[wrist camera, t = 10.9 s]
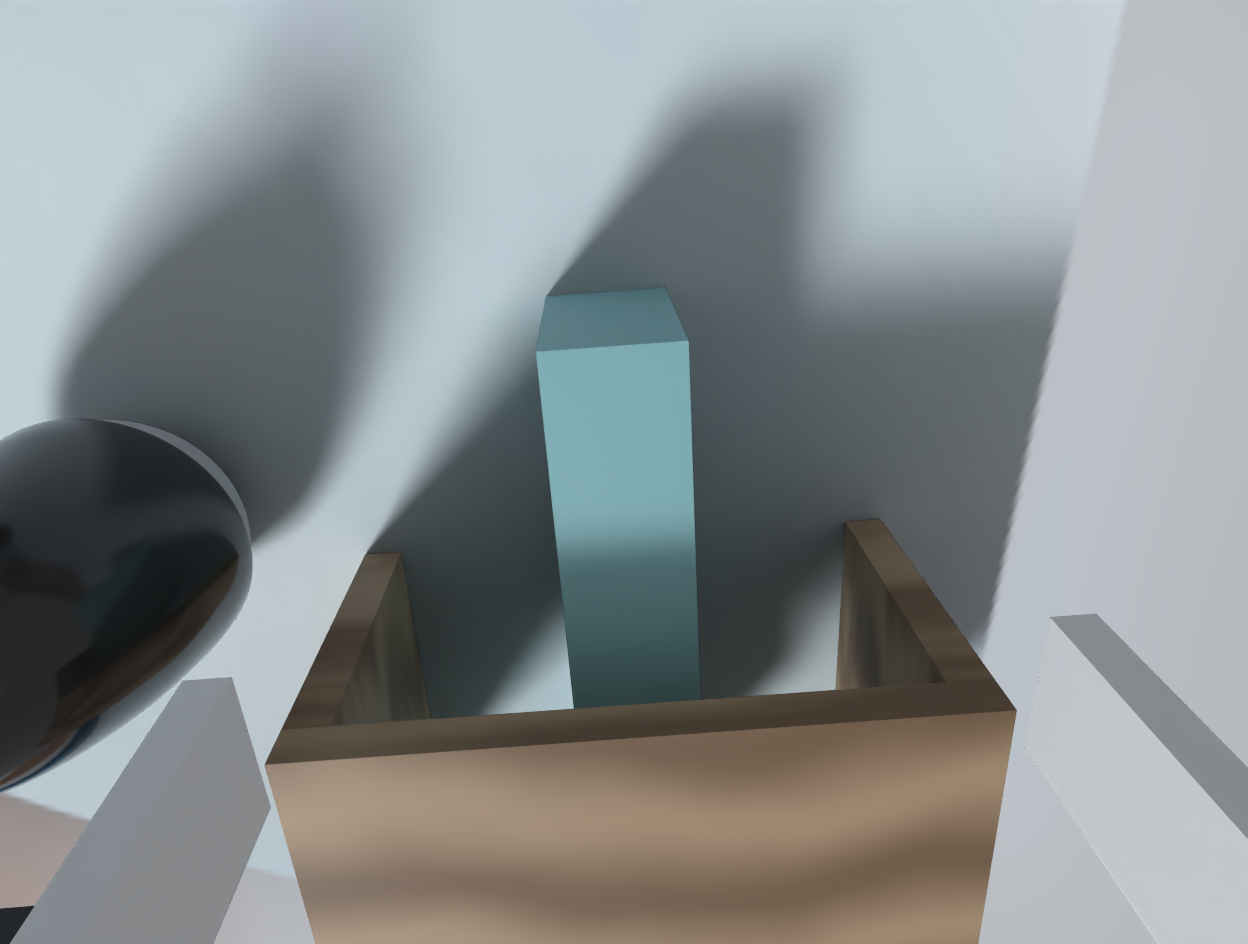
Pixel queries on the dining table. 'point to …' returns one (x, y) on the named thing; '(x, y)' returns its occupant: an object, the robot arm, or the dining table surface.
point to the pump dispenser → (106, 580)
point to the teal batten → (622, 493)
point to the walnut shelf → (652, 792)
